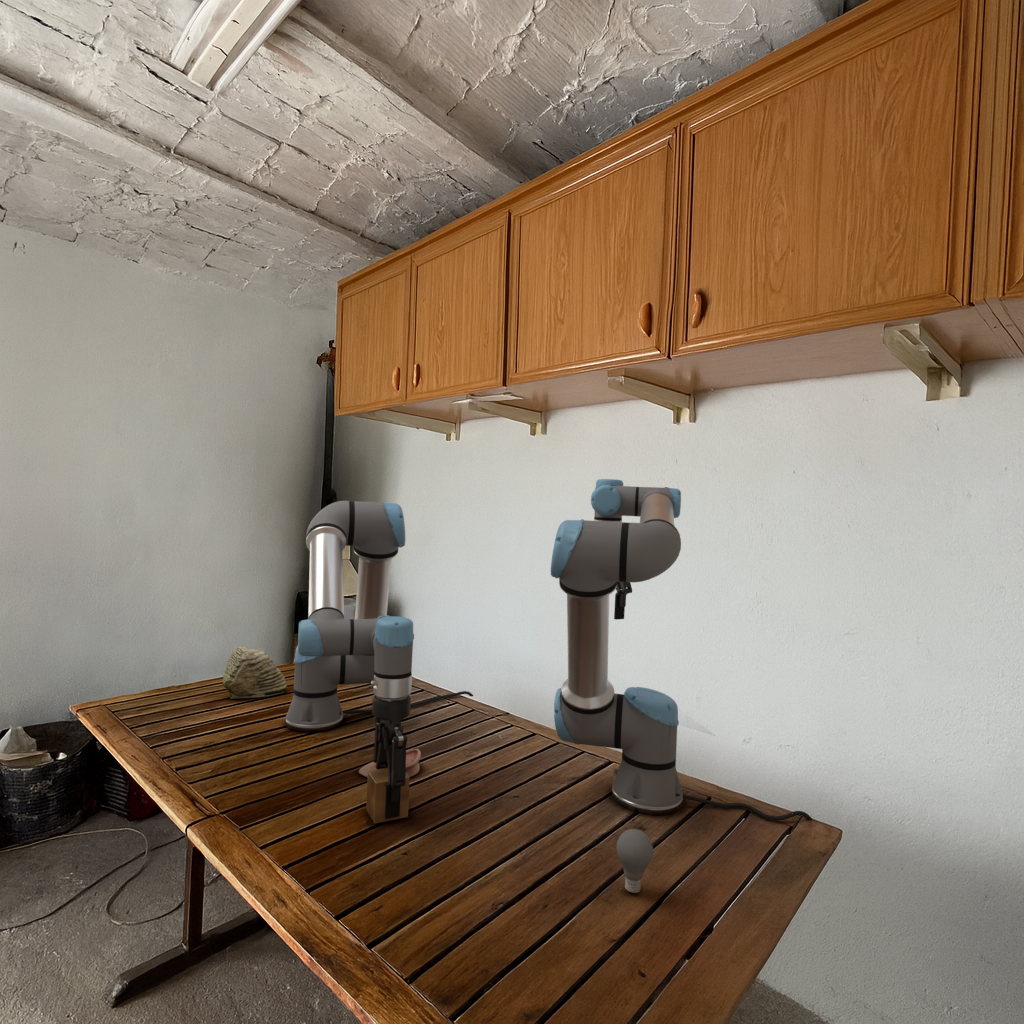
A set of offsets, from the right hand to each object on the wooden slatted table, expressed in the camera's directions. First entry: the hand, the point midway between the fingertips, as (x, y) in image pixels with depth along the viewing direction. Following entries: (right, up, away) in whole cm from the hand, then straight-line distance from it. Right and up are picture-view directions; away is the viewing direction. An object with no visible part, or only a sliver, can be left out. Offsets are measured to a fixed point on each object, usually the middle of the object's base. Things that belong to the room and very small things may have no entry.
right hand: (603, 614), depth 172 cm
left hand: (-50, -32, -44) cm, 74 cm away
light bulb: (-5, -36, -66) cm, 75 cm away
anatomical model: (-53, -33, -24) cm, 67 cm away
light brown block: (-50, -33, -44) cm, 74 cm away
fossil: (-105, -29, +26) cm, 113 cm away
